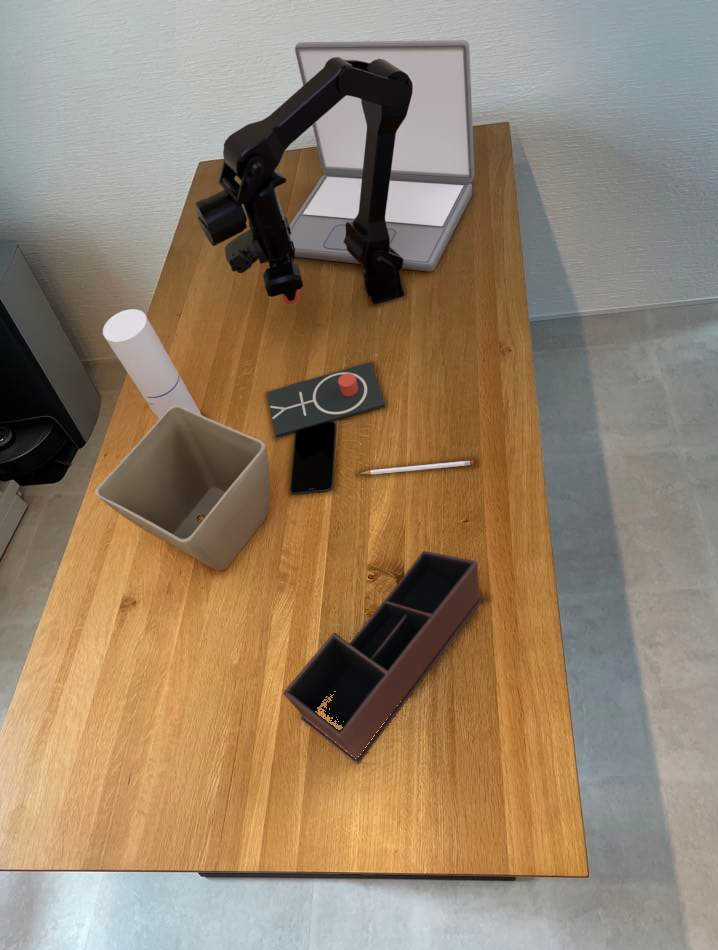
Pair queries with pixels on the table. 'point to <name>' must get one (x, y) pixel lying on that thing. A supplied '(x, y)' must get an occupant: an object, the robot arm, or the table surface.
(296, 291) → the dot
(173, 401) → the cylindrical container
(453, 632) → the desk organizer
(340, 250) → the laptop
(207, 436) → the flower pot
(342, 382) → the dot
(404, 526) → the table surface
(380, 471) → the pencil
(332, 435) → the smartphone
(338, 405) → the board
